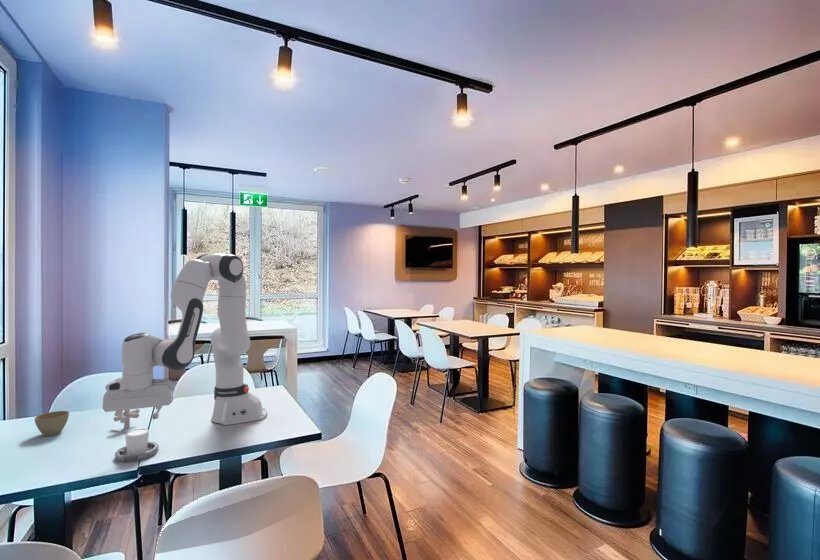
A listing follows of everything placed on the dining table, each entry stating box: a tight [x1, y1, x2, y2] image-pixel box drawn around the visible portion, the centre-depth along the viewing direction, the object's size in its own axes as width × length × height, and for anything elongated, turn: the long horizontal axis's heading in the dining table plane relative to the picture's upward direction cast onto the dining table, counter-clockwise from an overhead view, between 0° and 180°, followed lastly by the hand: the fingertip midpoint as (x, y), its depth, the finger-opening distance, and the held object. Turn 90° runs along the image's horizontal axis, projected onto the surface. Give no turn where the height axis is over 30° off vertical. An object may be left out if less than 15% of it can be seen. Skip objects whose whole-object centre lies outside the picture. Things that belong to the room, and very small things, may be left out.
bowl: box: [114, 441, 160, 463], centre depth 137 cm, size 12×12×2 cm
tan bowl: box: [34, 410, 70, 437], centre depth 153 cm, size 10×10×7 cm
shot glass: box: [124, 428, 150, 456], centre depth 137 cm, size 7×7×7 cm
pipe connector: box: [113, 408, 140, 429], centre depth 160 cm, size 10×10×10 cm
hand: (139, 420), depth 137 cm, fingers open, 8 cm apart
